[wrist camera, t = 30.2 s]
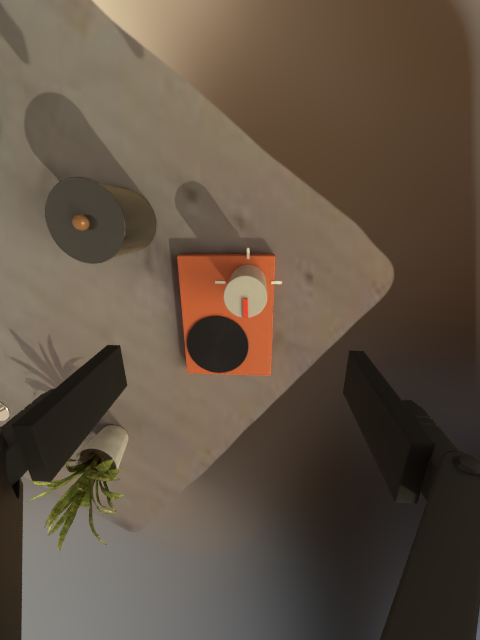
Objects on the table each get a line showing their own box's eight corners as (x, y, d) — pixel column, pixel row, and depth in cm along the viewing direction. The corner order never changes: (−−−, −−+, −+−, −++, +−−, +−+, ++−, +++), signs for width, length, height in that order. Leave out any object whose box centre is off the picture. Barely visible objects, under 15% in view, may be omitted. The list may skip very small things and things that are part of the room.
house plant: (151, 475, 54) (108, 577, 39) (82, 462, 54) (12, 559, 39) (156, 418, 49) (110, 510, 34) (80, 403, 49) (-1, 488, 34)
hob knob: (229, 264, 36) (222, 276, 29) (266, 264, 36) (267, 276, 29) (231, 299, 38) (224, 318, 31) (265, 299, 38) (267, 318, 30)
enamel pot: (91, 187, 36) (23, 175, 26) (154, 186, 36) (109, 173, 25) (103, 252, 39) (46, 265, 29) (161, 252, 38) (124, 266, 28)
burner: (184, 315, 39) (184, 316, 39) (248, 316, 39) (248, 317, 38) (189, 371, 43) (189, 372, 42) (248, 372, 42) (248, 373, 42)
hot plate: (180, 246, 38) (175, 248, 36) (282, 246, 37) (283, 248, 35) (190, 366, 45) (186, 373, 43) (276, 369, 44) (277, 376, 42)
